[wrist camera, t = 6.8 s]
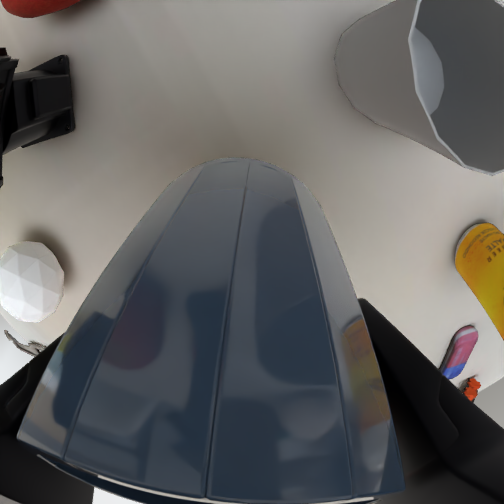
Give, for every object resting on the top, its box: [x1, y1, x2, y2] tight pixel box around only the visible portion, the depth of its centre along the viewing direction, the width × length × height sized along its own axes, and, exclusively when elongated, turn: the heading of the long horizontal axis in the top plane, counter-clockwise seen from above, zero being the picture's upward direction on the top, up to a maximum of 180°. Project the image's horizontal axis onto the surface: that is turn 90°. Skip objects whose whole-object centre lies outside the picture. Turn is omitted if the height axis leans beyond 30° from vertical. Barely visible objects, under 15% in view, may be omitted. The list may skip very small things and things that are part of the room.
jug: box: [17, 158, 406, 504], centre depth 8 cm, size 9×7×9 cm
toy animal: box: [463, 378, 481, 402], centre depth 38 cm, size 8×6×12 cm
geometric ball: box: [0, 241, 64, 323], centre depth 21 cm, size 8×8×8 cm
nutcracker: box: [5, 330, 45, 357], centre depth 33 cm, size 16×1×5 cm
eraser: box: [440, 326, 478, 379], centre depth 30 cm, size 11×4×2 cm, turn 14°
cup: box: [334, 0, 504, 176], centre depth 10 cm, size 8×8×10 cm
